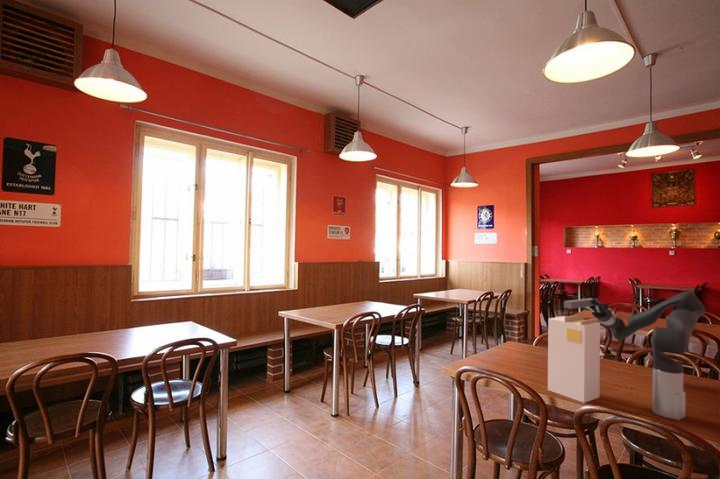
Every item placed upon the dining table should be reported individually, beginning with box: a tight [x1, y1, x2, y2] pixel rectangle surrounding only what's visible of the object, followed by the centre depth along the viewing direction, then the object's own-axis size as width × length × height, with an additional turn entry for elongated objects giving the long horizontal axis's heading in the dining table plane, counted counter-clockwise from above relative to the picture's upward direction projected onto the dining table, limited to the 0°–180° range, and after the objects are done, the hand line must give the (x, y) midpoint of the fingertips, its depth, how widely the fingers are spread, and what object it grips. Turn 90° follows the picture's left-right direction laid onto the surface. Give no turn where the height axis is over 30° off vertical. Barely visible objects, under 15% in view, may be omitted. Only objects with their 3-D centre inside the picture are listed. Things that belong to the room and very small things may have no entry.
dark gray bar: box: [563, 297, 599, 310], centre depth 177 cm, size 4×22×3 cm, turn 121°
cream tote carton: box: [547, 314, 601, 404], centre depth 167 cm, size 16×12×34 cm
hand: (587, 299), depth 180 cm, fingers closed on dark gray bar, 3 cm apart
